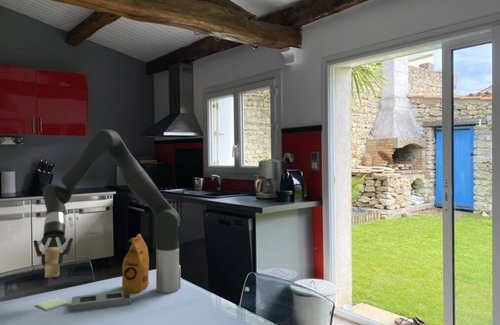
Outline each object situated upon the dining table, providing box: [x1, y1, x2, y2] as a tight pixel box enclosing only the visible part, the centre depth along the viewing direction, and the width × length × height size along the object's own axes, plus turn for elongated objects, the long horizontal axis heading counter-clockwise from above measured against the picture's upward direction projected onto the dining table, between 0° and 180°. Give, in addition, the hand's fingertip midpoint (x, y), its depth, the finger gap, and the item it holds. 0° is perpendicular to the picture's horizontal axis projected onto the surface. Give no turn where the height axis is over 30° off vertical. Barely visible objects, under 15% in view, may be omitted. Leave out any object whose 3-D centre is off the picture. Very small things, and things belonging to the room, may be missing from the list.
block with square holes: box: [70, 290, 131, 313], centre depth 143 cm, size 20×9×2 cm, turn 113°
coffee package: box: [121, 233, 150, 294], centre depth 162 cm, size 10×12×22 cm
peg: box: [44, 247, 60, 278], centre depth 142 cm, size 4×4×10 cm
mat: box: [35, 297, 69, 311], centre depth 142 cm, size 8×8×1 cm
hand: (52, 264), depth 141 cm, fingers closed on peg, 4 cm apart
